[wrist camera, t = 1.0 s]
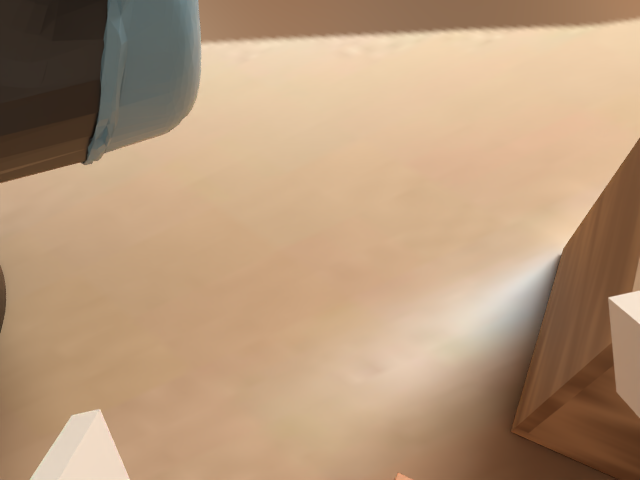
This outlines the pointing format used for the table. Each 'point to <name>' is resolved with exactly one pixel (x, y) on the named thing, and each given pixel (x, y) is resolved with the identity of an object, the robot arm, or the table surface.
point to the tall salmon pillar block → (402, 477)
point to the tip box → (588, 339)
